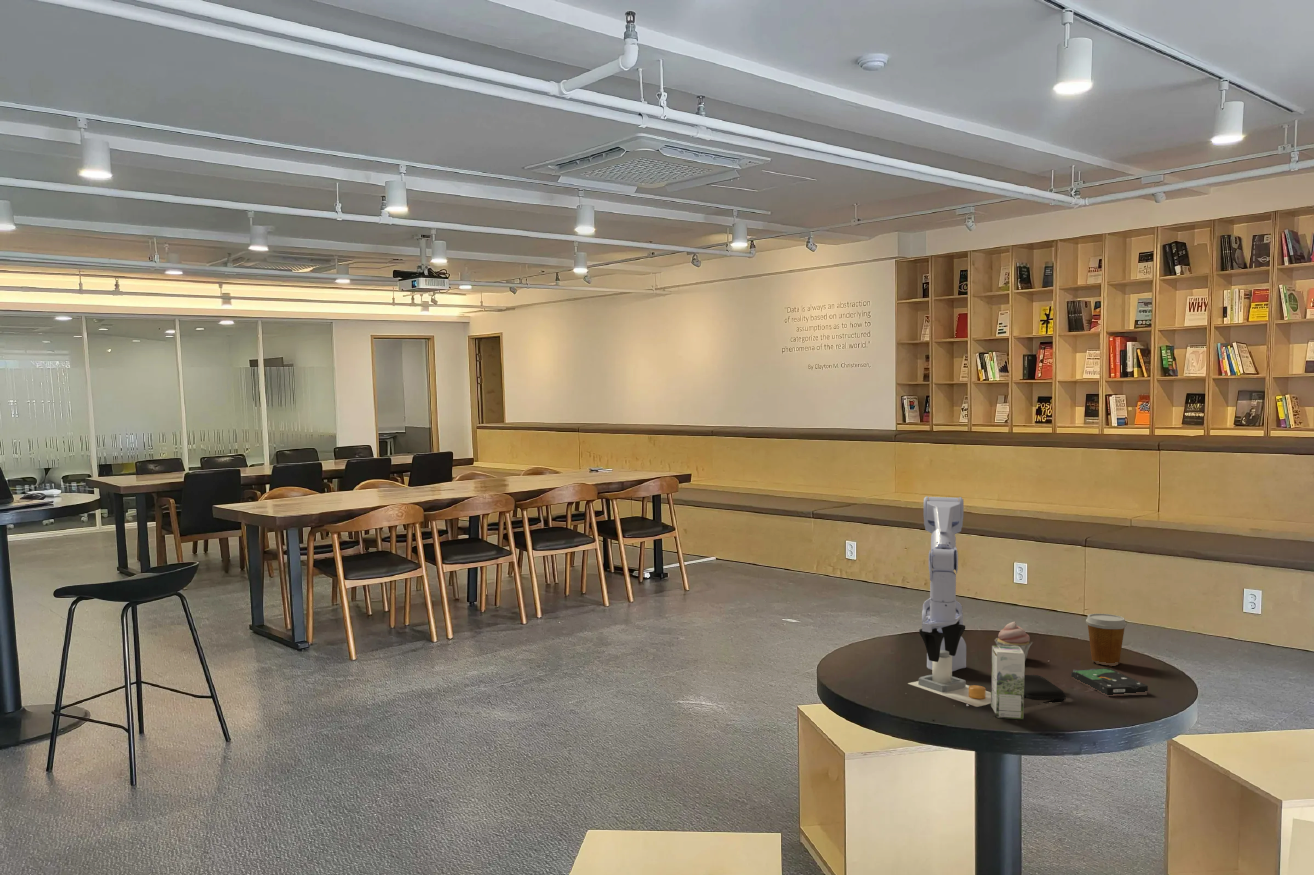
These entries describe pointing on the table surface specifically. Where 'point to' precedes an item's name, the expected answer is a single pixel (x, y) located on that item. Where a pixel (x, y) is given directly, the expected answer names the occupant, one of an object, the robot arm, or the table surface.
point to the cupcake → (1014, 637)
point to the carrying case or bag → (1042, 689)
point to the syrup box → (1007, 682)
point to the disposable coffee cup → (1106, 636)
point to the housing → (952, 690)
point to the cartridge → (942, 668)
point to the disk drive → (1109, 681)
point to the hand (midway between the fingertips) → (942, 657)
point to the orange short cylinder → (977, 692)
